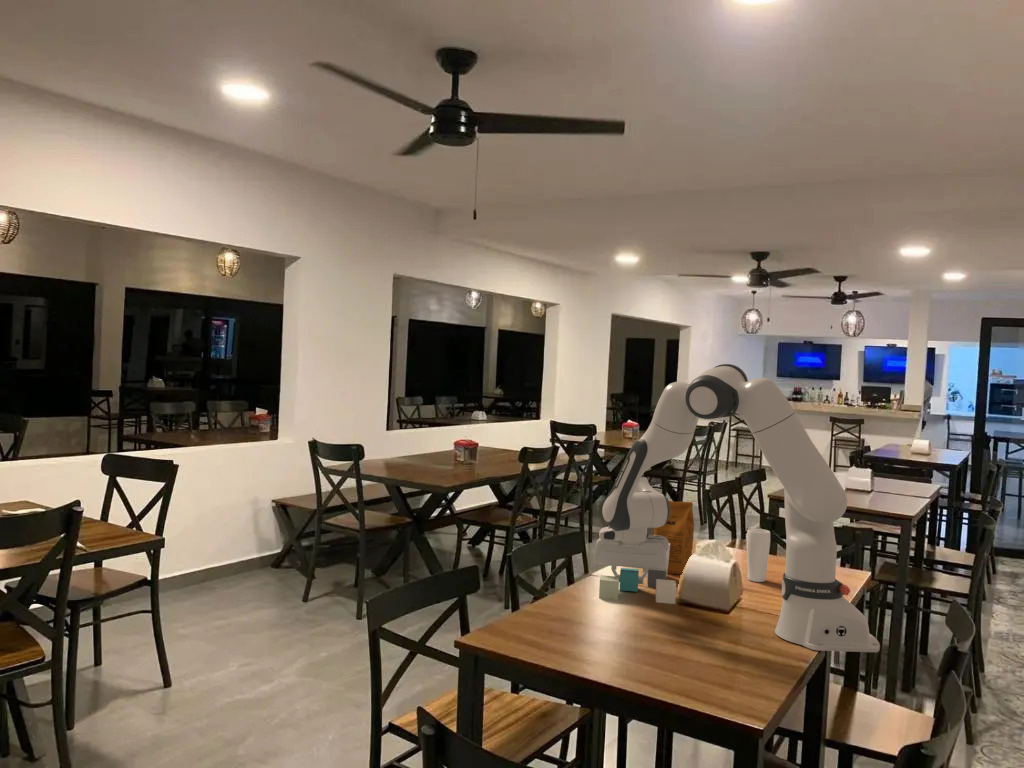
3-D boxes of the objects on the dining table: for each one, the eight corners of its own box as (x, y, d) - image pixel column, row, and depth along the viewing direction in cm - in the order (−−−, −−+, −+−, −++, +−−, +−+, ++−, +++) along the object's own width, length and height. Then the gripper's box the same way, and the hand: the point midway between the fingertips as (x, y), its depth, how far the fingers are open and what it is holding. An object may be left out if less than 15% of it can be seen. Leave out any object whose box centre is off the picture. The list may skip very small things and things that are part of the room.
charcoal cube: (664, 583, 221) (665, 566, 221) (665, 588, 216) (666, 570, 216) (647, 582, 222) (648, 565, 222) (647, 586, 217) (648, 569, 217)
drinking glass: (771, 583, 226) (773, 533, 225) (748, 582, 226) (750, 532, 225) (764, 577, 232) (766, 528, 232) (741, 576, 232) (744, 527, 232)
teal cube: (637, 586, 214) (638, 569, 214) (637, 591, 210) (638, 573, 209) (620, 585, 215) (620, 567, 215) (619, 590, 210) (620, 572, 210)
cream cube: (674, 599, 206) (675, 580, 206) (675, 604, 201) (676, 585, 201) (655, 597, 207) (656, 579, 207) (656, 602, 202) (656, 583, 202)
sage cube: (618, 595, 207) (619, 576, 207) (617, 600, 202) (618, 581, 202) (599, 593, 208) (600, 575, 208) (598, 598, 203) (599, 579, 203)
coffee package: (660, 563, 245) (663, 495, 244) (696, 571, 237) (699, 500, 237) (645, 569, 237) (648, 498, 237) (682, 577, 229) (686, 504, 229)
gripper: (668, 533, 214) (666, 582, 214) (595, 528, 217) (593, 576, 217) (669, 538, 207) (667, 588, 208) (594, 532, 211) (592, 582, 211)
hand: (629, 582), depth 212 cm, fingers closed on teal cube, 5 cm apart
